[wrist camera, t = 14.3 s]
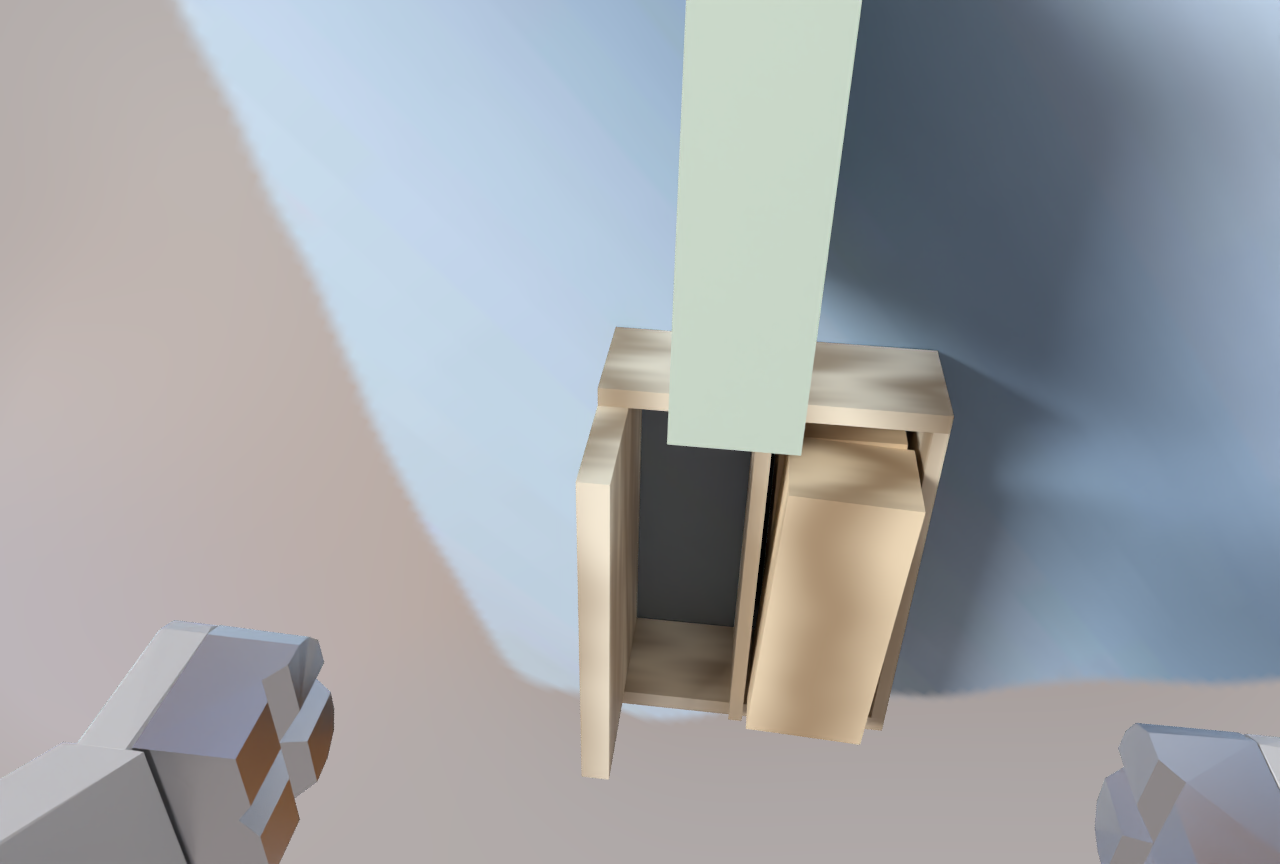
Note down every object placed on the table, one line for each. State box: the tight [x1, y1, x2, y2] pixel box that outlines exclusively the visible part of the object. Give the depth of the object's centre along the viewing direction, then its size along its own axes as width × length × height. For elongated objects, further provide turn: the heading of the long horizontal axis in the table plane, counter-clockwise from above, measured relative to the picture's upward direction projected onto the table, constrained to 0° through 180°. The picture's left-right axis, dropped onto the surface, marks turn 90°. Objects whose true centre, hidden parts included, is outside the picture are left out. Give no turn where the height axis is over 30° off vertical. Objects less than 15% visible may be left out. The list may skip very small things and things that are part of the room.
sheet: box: [667, 0, 862, 456], centre depth 29 cm, size 4×14×16 cm, turn 179°
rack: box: [576, 327, 954, 779], centre depth 43 cm, size 13×18×10 cm
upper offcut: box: [746, 437, 926, 745], centre depth 42 cm, size 5×13×4 cm, turn 176°
